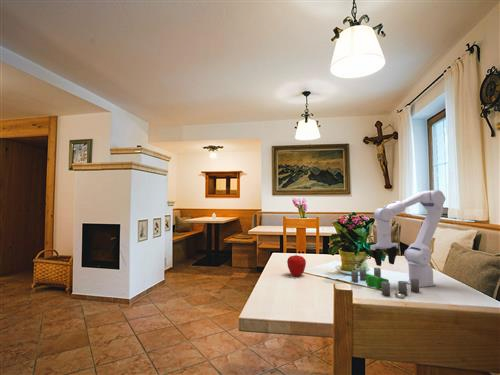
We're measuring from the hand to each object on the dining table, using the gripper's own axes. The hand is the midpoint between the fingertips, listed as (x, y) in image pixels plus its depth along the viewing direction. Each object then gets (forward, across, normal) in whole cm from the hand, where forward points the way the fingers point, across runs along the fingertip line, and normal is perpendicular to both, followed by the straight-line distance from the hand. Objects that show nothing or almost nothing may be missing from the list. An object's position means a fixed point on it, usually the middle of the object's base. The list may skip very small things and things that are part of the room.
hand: (385, 264), depth 120 cm
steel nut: (+10, +7, +13) cm, 17 cm away
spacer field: (+9, +2, +1) cm, 9 cm away
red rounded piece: (+9, +28, -30) cm, 43 cm away
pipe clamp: (+10, +6, -1) cm, 11 cm away
